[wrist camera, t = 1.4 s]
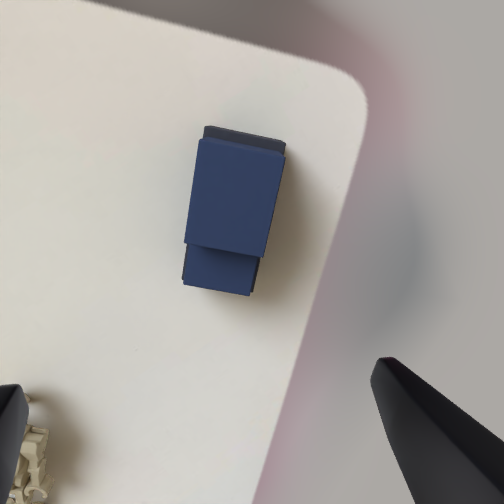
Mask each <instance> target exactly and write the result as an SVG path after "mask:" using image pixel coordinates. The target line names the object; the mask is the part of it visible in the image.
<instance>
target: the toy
mask: <svg viewBox="0 0 504 504" xmlns="http://www.w3.org/2000/svg"><path fill="white" fill-rule="evenodd" d="M24 395H25V398H26V400H27V403H29V402H30V398H29V397H28V396H27V395H26V394H25V393H24ZM48 437H49V430H48V429H43V428H36V427H33V426H31V425H26V428H25V432H24V437H23V441H22V446H21V450H20V454H19V459H18V463H17V467H16V472H15V476H14V480H13V484H12V487H11V490H10V493H9V494H15V498H16V501H15V502H14V500H13V499H12V498H8V499H7V502H6V504H45V503H43V502H33V503H30V502H31V500H32V497H33V491H34V490H38V491H40V492H41V493H42V494H43V496H42V498H46V497H47V496H48V493H49V491H50V489H51V487H52V485H53V483H54V479H53V478H52V477H51V476H50V475H48V474H45V465H46V460H47V459H46V458H45V457H44V454H43V453H44V451H45V448H46V444H47V441H48ZM30 473H31V479H30V476H29V475H30Z"/></svg>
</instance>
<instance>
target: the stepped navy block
mask: <svg viewBox="0 0 504 504" xmlns="http://www.w3.org/2000/svg"><path fill="white" fill-rule="evenodd" d="M285 146H286V143H284V142H283V141H281V140H276V139H272V138H267V137H262V136H257V135H253V134H248V133H243V132H239V131H234V130H229V129H224V128H220V127H215V126H205V127H204V134H203V139H200V140H199V144H198V151H197V158H196V164H195V171H194V178H193V185H192V191H191V198H190V205H189V212H188V219H187V225H186V232H185V239H184V243H187V247H186V254H185V260H184V267H183V274H182V280H184V282H183V284H184V285H189V286H195V287H200V288H206V289H212V290H217V291H223V292H228V293H234V294H239V295H245V296H250V292H253V289H254V285H255V280H256V276H257V271H258V267H259V262H260V258H261V257H262V258H263V257H264V252H265V248H266V243H267V239H268V234H269V230H270V226H271V221H272V217H273V212H274V208H275V203H276V199H277V194H278V190H279V186H280V181H281V177H282V172H283V168H284V163H285V159H286V158H285V157H284V156H283V155H284V150H285Z"/></svg>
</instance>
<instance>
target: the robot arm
mask: <svg viewBox="0 0 504 504" xmlns="http://www.w3.org/2000/svg"><path fill="white" fill-rule="evenodd" d="M370 382H371V387H372V391H373V394H374V397H375V400H376V403H377V406H378V410H379V413H380V416H381V419H382V422H383V425H384V429H385V432H386V435H387V437H388V440H389V443H390V445H391V447H392V450H393V452H394V455H395V457H396V459H397V462H398V464H399V467H400V469H401V471H402V473H403V476H404V478H405V480H406V483H407V485H408V488H409V490H410V492H411V495H412V497H413V499H414V502H415V504H504V442H503V441H502V440H501V439H500V438H498V437H497V436H496V435H494V434H493V433H492V432H490V431H489V430H488V429H486V428H485V427H484V426H482V425H481V424H480V423H479V422H477V421H476V420H475V419H473V418H472V417H471V416H470V415H468V414H467V413H466V412H464V411H463V410H461V409H460V408H459V407H458V406H457V405H455V404H454V403H453V402H451V401H450V400H449V399H447V398H446V397H445V396H444V395H442V394H441V393H440V392H438V391H437V390H436V389H434V388H433V387H432V386H431V385H429V384H428V383H427V382H425V381H424V380H423V379H421V378H420V377H419V376H418V375H416V374H415V373H414V372H412V371H411V370H410V369H408V368H407V367H406V366H405V365H403V364H402V363H401V362H399V361H398V360H397V359H395V358H393V357H385V358H379V359H378V360H377V362H376V365H375V367H374V370H373V373H372V375H371V380H370ZM28 414H29V407H28V403H27V400H26V398H25V395H24V392H23V389H22V387H21V386H20V385H19V384H9V385H1V386H0V504H6V502H7V499H8V497H9V493H10V490H11V487H12V484H13V480H14V476H15V472H16V467H17V463H18V459H19V454H20V450H21V446H22V441H23V437H24V432H25V428H26V424H27V419H28Z"/></svg>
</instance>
